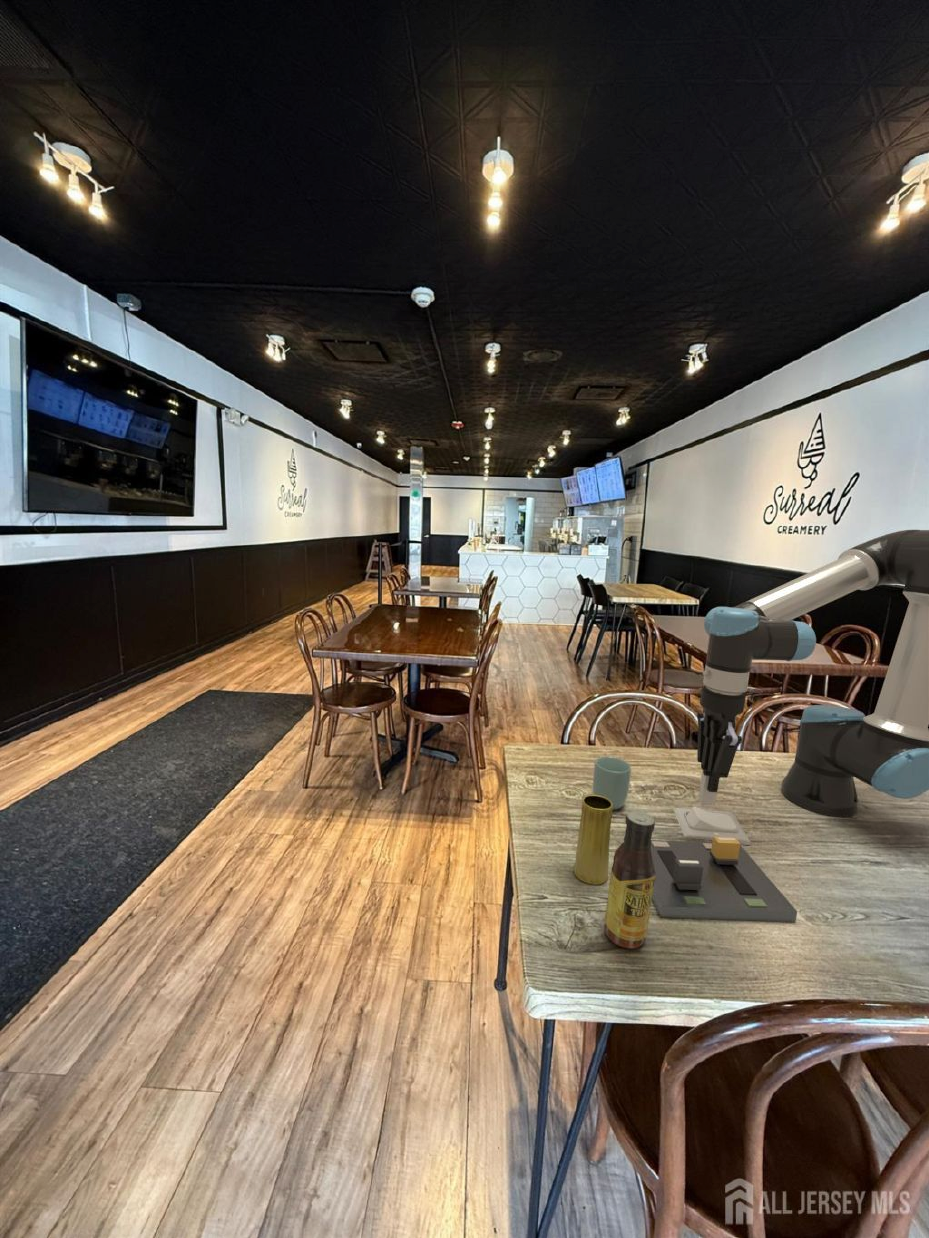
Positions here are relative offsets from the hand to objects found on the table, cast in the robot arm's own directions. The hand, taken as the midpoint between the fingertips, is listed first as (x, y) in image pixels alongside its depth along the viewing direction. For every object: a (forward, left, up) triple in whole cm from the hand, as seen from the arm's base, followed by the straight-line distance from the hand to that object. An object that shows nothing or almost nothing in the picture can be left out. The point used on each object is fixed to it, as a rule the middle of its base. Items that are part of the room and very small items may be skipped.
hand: (706, 803), depth 101 cm
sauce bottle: (+23, +24, -9) cm, 34 cm away
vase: (+25, +10, -9) cm, 28 cm away
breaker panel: (+5, +11, -9) cm, 15 cm away
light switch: (-5, -7, -10) cm, 13 cm away
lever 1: (+10, +15, -7) cm, 19 cm away
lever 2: (0, +8, -7) cm, 10 cm away
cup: (+15, -14, -9) cm, 22 cm away
